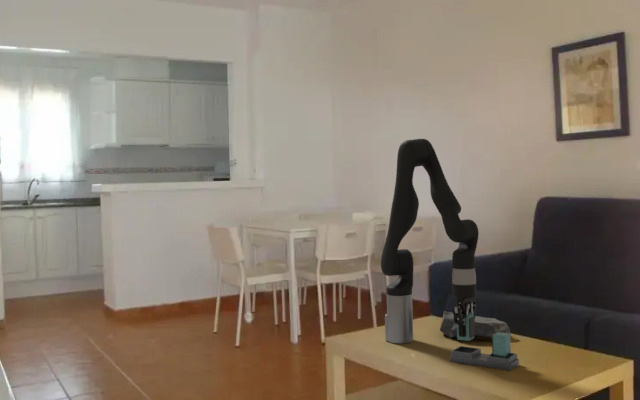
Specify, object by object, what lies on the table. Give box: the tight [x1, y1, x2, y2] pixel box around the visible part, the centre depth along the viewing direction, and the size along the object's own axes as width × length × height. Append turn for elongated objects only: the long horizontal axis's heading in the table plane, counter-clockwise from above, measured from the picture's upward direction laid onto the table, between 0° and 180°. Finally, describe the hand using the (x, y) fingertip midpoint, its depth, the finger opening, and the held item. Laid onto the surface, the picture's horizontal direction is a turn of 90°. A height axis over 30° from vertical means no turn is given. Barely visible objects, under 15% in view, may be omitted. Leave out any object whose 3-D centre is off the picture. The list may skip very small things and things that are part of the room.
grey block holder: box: [449, 332, 520, 371], centre depth 214 cm, size 20×7×10 cm, turn 54°
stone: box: [439, 310, 512, 339], centre depth 250 cm, size 24×8×25 cm
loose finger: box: [456, 313, 476, 342], centre depth 217 cm, size 4×4×8 cm
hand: (465, 334), depth 217 cm, fingers closed on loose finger, 4 cm apart
